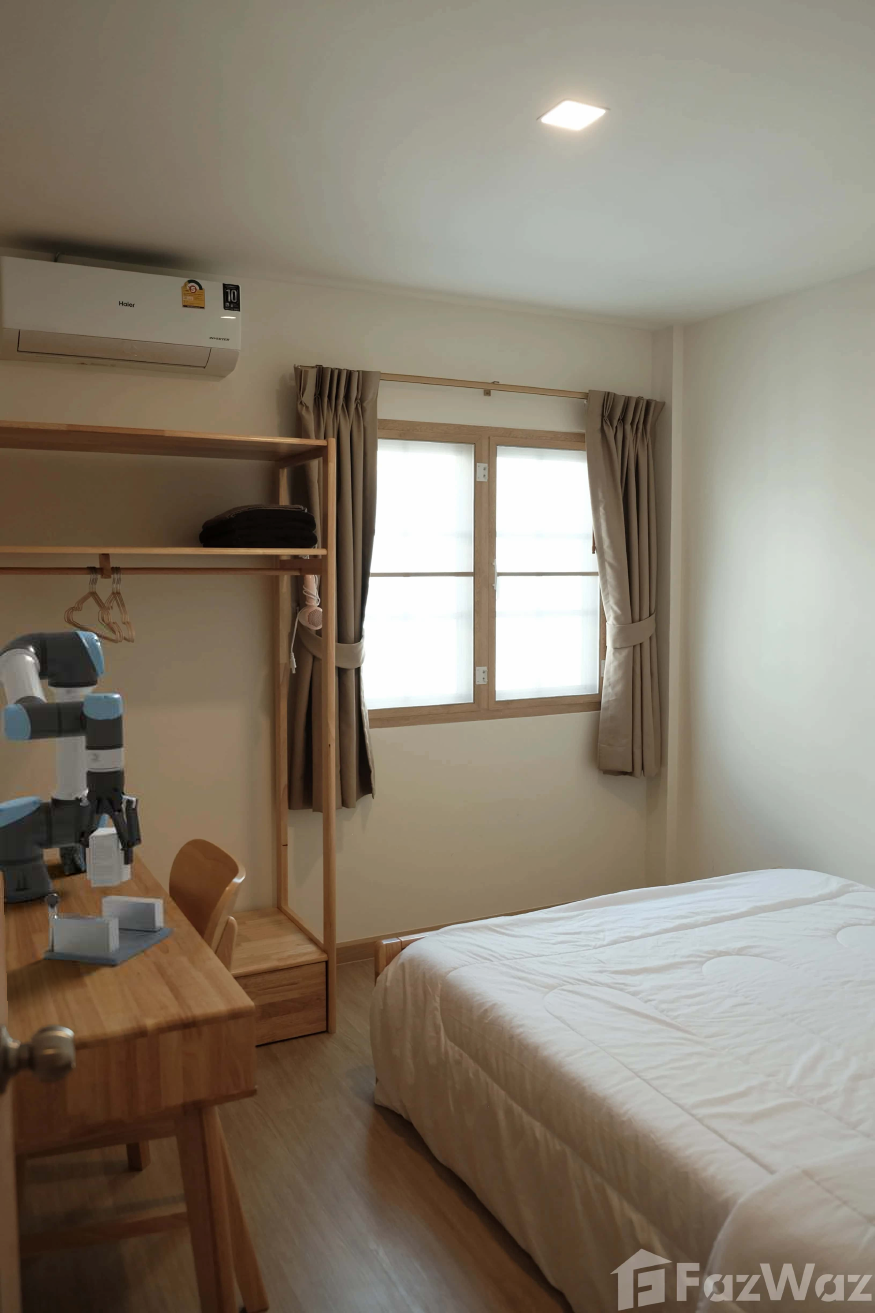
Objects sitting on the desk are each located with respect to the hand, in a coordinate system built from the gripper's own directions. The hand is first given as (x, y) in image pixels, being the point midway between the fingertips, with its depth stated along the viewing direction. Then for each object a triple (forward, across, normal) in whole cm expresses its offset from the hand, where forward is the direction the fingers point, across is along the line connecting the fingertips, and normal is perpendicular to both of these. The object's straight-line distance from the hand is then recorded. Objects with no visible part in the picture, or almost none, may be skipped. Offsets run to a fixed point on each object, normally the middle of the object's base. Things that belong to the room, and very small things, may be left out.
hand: (108, 878), depth 205 cm
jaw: (+13, 0, +8) cm, 15 cm away
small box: (+1, 0, 0) cm, 1 cm away
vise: (+14, 0, 0) cm, 14 cm away
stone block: (+14, -48, +54) cm, 74 cm away
